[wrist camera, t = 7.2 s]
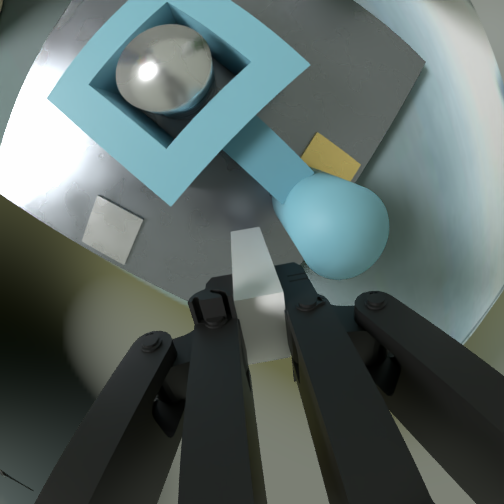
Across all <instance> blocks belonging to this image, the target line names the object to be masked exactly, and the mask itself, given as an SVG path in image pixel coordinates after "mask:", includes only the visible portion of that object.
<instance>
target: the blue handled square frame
mask: <svg viewBox="0 0 504 504" xmlns="http://www.w3.org/2000/svg"><path fill="white" fill-rule="evenodd" d="M165 24H178V25H183V26H186V27H189V28H191V29H193V30H195V31H196V32H198V33H199V34H200V35H201V36H202V37H203V38H204V39H205V40H206V42H207V44H208V46H209V49H210V52H211V56H212V57H213V58H215V59H216V60H217V61H218V62H220V63H221V64H222V65H223V66H225V67H226V68H227V69H228V70H230V71H231V72H232V73H233V74H234V75H236V76H235V77H234V78H233V79H232V80H231V81H230V82H229V83H228V84H227V85H226V86H225V87H224V88H223V89H222V90H221V91H220V92H219V93H218V94H217V95H216V96H215V97H214V98H213V99H212V100H211V101H210V102H209V103H208V104H207V105H206V106H205V107H204V108H203V109H202V110H201V111H200V112H199V113H198V114H197V115H196V116H195V117H194V118H193V119H192V120H191V122H190V123H189V124H188V125H187V126H186V127H185V128H184V129H183V130H182V132H181V133H180V134H179V135H178V136H177V137H176V138H175V139H174V138H173V137H172V136H170V135H169V134H168V133H167V132H166V131H165V130H163V129H162V128H161V127H160V126H159V125H157V124H156V123H155V122H154V121H152V120H151V119H150V118H149V117H148V116H146V115H145V114H144V113H143V112H142V111H140V110H139V109H138V108H137V107H135V106H133V105H132V104H130V103H129V102H128V101H126V99H125V98H124V97H123V96H122V95H121V93H120V91H119V89H118V86H117V83H116V67H117V63H118V60H119V58H120V55H121V54H122V52H123V50H124V49H125V47H126V46H127V45H128V44H129V43H130V42H131V41H132V40H133V39H134V38H135V37H136V36H138V35H139V34H140V33H142V32H144V31H146V30H148V29H150V28H153V27H156V26H159V25H165ZM309 66H310V64H309V63H308V62H307V61H306V60H305V59H304V58H303V57H302V56H301V55H300V54H299V53H297V52H296V51H295V50H294V49H293V48H292V47H291V46H290V45H288V44H287V43H286V42H285V41H284V40H283V39H281V38H280V37H279V36H278V35H277V34H275V33H274V32H273V31H272V30H270V29H269V28H268V27H267V26H265V25H264V24H263V23H262V22H260V21H259V20H258V19H256V18H255V17H254V16H252V15H251V14H250V13H248V12H247V11H245V10H244V9H243V8H241V7H240V6H238V5H237V4H235V3H234V2H232V1H231V0H128V1H127V2H126V3H125V4H124V5H123V6H122V7H121V8H119V9H118V10H117V11H116V12H115V13H114V14H113V15H112V16H111V17H110V18H109V19H108V20H107V21H106V23H105V24H104V25H103V26H102V27H101V28H100V29H99V30H98V31H97V32H96V33H95V34H94V36H93V37H92V38H91V39H90V40H89V41H88V42H87V44H86V45H85V46H84V47H83V48H82V50H81V51H80V52H79V53H78V55H77V56H76V57H75V58H74V60H73V61H72V62H71V64H70V65H69V66H68V68H67V69H66V70H65V72H64V73H63V75H62V76H61V77H60V79H59V80H58V82H57V83H56V85H55V86H54V88H53V89H52V91H51V92H50V94H49V95H48V97H47V98H46V99H47V100H48V101H50V102H51V103H52V104H53V105H54V106H55V107H56V108H57V109H59V110H60V111H61V112H62V113H63V114H64V115H65V116H66V117H67V118H69V119H70V120H71V121H72V122H73V123H74V124H75V125H76V126H78V127H79V128H80V129H81V130H82V131H83V132H84V133H86V134H87V135H88V136H89V137H90V138H91V139H92V140H94V141H95V142H96V143H97V144H98V145H99V146H100V147H102V148H103V149H104V150H105V151H106V152H107V153H108V154H110V155H111V156H112V157H113V158H114V159H115V160H117V161H118V162H119V163H120V164H121V165H122V166H124V167H125V168H126V169H127V170H128V171H129V172H131V173H132V174H133V175H134V176H135V177H136V178H138V179H139V180H140V181H141V182H142V183H143V184H145V185H146V186H147V187H148V188H149V189H150V190H152V191H153V192H154V193H155V194H156V195H158V196H159V197H160V198H161V199H162V200H163V201H165V202H166V203H167V204H168V205H169V206H172V205H173V204H174V203H175V201H176V200H177V199H178V198H179V197H180V196H181V194H182V193H183V192H184V191H185V190H186V189H187V187H188V186H189V185H190V184H191V183H192V182H193V181H194V179H195V178H196V177H197V176H198V175H199V174H200V173H201V171H202V170H203V169H204V168H205V167H206V166H207V165H208V164H209V163H210V162H211V160H212V159H213V158H214V157H215V156H216V155H217V154H218V153H219V152H220V151H221V150H223V151H224V152H225V153H227V154H228V155H229V156H230V157H231V158H232V159H233V160H234V161H236V162H237V163H238V164H239V165H240V166H241V167H242V168H243V169H244V170H245V171H247V172H248V173H249V174H250V175H251V176H252V177H253V178H254V179H255V180H256V181H257V182H258V183H260V184H261V185H262V186H263V187H264V188H265V189H266V190H267V191H268V192H269V193H270V194H271V195H272V204H273V209H274V211H275V213H276V215H277V217H278V219H279V220H280V222H281V223H282V225H283V226H284V228H285V230H286V231H287V233H288V234H289V236H290V238H291V239H292V241H293V242H294V244H295V246H296V247H297V249H298V251H299V252H300V254H301V255H302V257H303V259H304V260H305V262H306V263H307V265H308V266H309V267H310V268H311V269H312V270H313V271H314V272H315V273H317V274H319V275H320V276H323V277H325V278H329V279H335V280H342V279H348V278H352V277H355V276H357V275H359V274H361V273H363V272H364V271H366V270H367V269H369V268H370V267H371V266H372V265H373V264H374V263H375V262H376V261H377V260H378V258H379V257H380V255H381V254H382V252H383V250H384V248H385V246H386V243H387V240H388V235H389V218H388V213H387V210H386V208H385V206H384V204H383V202H382V201H381V199H380V198H379V197H378V196H377V195H376V194H375V193H373V192H372V191H370V190H369V189H367V188H365V187H362V186H360V185H357V184H355V183H352V182H350V181H347V180H345V179H342V178H340V177H337V176H334V175H332V174H329V173H326V172H324V171H321V170H318V169H315V168H312V167H309V166H308V165H307V164H306V163H305V162H304V161H303V160H302V159H301V158H300V157H299V156H298V155H297V154H296V153H295V152H294V151H293V150H292V149H291V148H290V147H289V146H288V145H287V144H286V143H285V142H284V141H283V140H282V139H281V138H280V137H279V136H278V135H277V134H276V133H275V132H274V131H273V130H272V129H271V128H270V127H268V126H267V125H266V124H265V123H264V122H263V121H262V120H261V119H260V118H259V117H258V116H257V115H256V114H257V113H258V112H259V111H260V110H261V109H262V108H263V107H264V106H265V105H267V104H268V103H269V102H270V101H271V100H272V99H273V98H274V97H275V96H276V95H277V94H278V93H279V92H280V91H282V90H283V89H284V88H285V87H286V86H287V85H288V84H289V83H290V82H292V81H293V80H294V79H295V78H296V77H297V76H298V75H300V74H301V73H302V72H303V71H304V70H305V69H307V68H308V67H309Z"/></svg>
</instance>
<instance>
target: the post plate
mask: <svg viewBox="0 0 504 504" xmlns="http://www.w3.org/2000/svg"><path fill="white" fill-rule="evenodd" d="M127 1H128V0H72V1H71V3H70V4H69V5H68V7H67V8H66V10H65V11H64V13H63V14H62V16H61V17H60V18H59V20H58V22H57V23H56V25H55V26H54V28H53V29H52V31H51V33H50V34H49V36H48V38H47V39H46V41H45V43H44V44H43V46H42V48H41V50H40V52H39V54H38V55H37V57H36V59H35V61H34V63H33V65H32V67H31V69H30V71H29V73H28V75H27V78H26V80H25V82H24V84H23V86H22V89H21V91H20V93H19V96H18V98H17V101H16V103H15V106H14V109H13V111H12V114H11V117H10V120H9V123H8V126H7V129H6V132H5V135H4V138H3V142H2V145H1V149H0V194H2V195H3V196H5V197H6V198H7V199H9V200H10V201H12V202H13V203H15V204H16V205H18V206H19V207H20V208H22V209H23V210H25V211H27V212H28V213H30V214H31V215H33V216H34V217H36V218H37V219H39V220H40V221H42V222H44V223H45V224H47V225H48V226H50V227H52V228H53V229H55V230H57V231H58V232H60V233H61V234H63V235H65V236H66V237H68V238H70V239H71V240H73V241H75V242H76V243H78V244H80V245H81V246H83V247H85V248H87V249H88V250H90V251H92V252H94V253H95V254H97V255H99V256H101V257H103V258H104V259H106V260H108V261H110V262H112V263H113V264H115V265H117V266H119V267H121V268H123V269H125V270H127V271H128V272H130V273H132V274H134V275H136V276H138V277H140V278H142V279H144V280H146V281H148V282H150V283H152V284H154V285H156V286H158V287H160V288H162V289H164V290H166V291H168V292H170V293H172V294H174V295H176V296H178V297H180V298H182V299H184V300H186V301H189V299H190V297H192V296H193V295H194V294H195V293H197V292H199V291H201V290H204V289H205V287H206V283H207V282H208V281H209V280H210V279H211V277H217V276H223V275H229V274H232V255H231V232H232V231H237V230H243V229H249V228H255V227H260V230H261V232H262V235H263V238H264V240H265V243H266V246H267V248H268V251H269V254H270V257H271V259H272V262H273V265H274V266H275V265H280V264H286V263H291V262H295V263H297V264H299V265H300V264H301V263H302V262H303V260H304V259H303V257H302V255H301V254H300V252H299V251H298V249H297V247H296V246H295V244H294V242H293V241H292V239H291V238H290V236H289V234H288V233H287V231H286V230H285V228H284V226H283V225H282V223H281V222H280V220H279V219H278V217H277V215H276V213H275V211H274V209H273V204H272V195H271V194H270V193H269V192H268V191H267V190H266V189H265V188H264V187H263V186H262V185H261V184H260V183H258V182H257V181H256V180H255V179H254V178H253V177H252V176H251V175H250V174H249V173H248V172H247V171H245V170H244V169H243V168H242V167H241V166H240V165H239V164H238V163H237V162H236V161H234V160H233V159H232V158H231V157H230V156H229V155H228V154H227V153H225V152H224V151H223V150H221V151H220V152H219V153H218V154H217V155H216V156H215V157H214V158H213V159H212V160H211V162H210V163H209V164H208V165H207V166H206V167H205V168H204V169H203V170H202V171H201V173H200V174H199V175H198V176H197V177H196V178H195V179H194V181H193V182H192V183H191V184H190V185H189V186H188V187H187V189H186V190H185V191H184V192H183V193H182V194H181V196H180V197H179V198H178V199H177V200H176V201H175V203H174V204H173V205H172V206H169V205H168V204H167V203H166V202H165V201H163V200H162V199H161V198H160V197H159V196H158V195H156V194H155V193H154V192H153V191H152V190H150V189H149V188H148V187H147V186H146V185H145V184H143V183H142V182H141V181H140V180H139V179H138V178H136V177H135V176H134V175H133V174H132V173H131V172H129V171H128V170H127V169H126V168H125V167H124V166H122V165H121V164H120V163H119V162H118V161H117V160H115V159H114V158H113V157H112V156H111V155H110V154H108V153H107V152H106V151H105V150H104V149H103V148H102V147H100V146H99V145H98V144H97V143H96V142H95V141H94V140H92V139H91V138H90V137H89V136H88V135H87V134H86V133H84V132H83V131H82V130H81V129H80V128H79V127H78V126H76V125H75V124H74V123H73V122H72V121H71V120H70V119H69V118H67V117H66V116H65V115H64V114H63V113H62V112H61V111H60V110H59V109H57V108H56V107H55V106H54V105H53V104H52V103H51V102H50V101H48V100H47V99H46V98H47V97H48V95H49V94H50V92H51V91H52V89H53V88H54V86H55V85H56V83H57V82H58V80H59V79H60V77H61V76H62V75H63V73H64V72H65V70H66V69H67V68H68V66H69V65H70V64H71V62H72V61H73V60H74V58H75V57H76V56H77V55H78V53H79V52H80V51H81V50H82V48H83V47H84V46H85V45H86V44H87V42H88V41H89V40H90V39H91V38H92V37H93V36H94V34H95V33H96V32H97V31H98V30H99V29H100V28H101V27H102V26H103V25H104V24H105V23H106V21H107V20H108V19H109V18H110V17H111V16H112V15H113V14H114V13H115V12H116V11H117V10H118V9H119V8H121V7H122V6H123V5H124V4H125V3H126V2H127ZM231 1H232V2H234V3H235V4H237V5H238V6H240V7H241V8H243V9H244V10H245V11H247V12H248V13H250V14H251V15H252V16H254V17H255V18H256V19H258V20H259V21H260V22H262V23H263V24H264V25H265V26H267V27H268V28H269V29H270V30H272V31H273V32H274V33H275V34H277V35H278V36H279V37H280V38H281V39H283V40H284V41H285V42H286V43H287V44H288V45H290V46H291V47H292V48H293V49H294V50H295V51H296V52H297V53H299V54H300V55H301V56H302V57H303V58H304V59H305V60H306V61H307V62H308V63H309V64H310V66H309V67H308V68H307V69H305V70H304V71H303V72H302V73H301V74H300V75H298V76H297V77H296V78H295V79H294V80H293V81H292V82H290V83H289V84H288V85H287V86H286V87H285V88H284V89H283V90H282V91H280V92H279V93H278V94H277V95H276V96H275V97H274V98H273V99H272V100H271V101H270V102H269V103H268V104H267V105H265V106H264V107H263V108H262V109H261V110H260V111H259V112H258V113H257V114H256V115H257V116H258V117H259V118H260V119H261V120H262V121H263V122H264V123H265V124H266V125H267V126H268V127H270V128H271V129H272V130H273V131H274V132H275V133H276V134H277V135H278V136H279V137H280V138H281V139H282V140H283V141H284V142H285V143H286V144H287V145H288V146H289V147H290V148H291V149H292V150H293V151H294V152H295V153H296V154H297V155H298V156H299V157H300V158H301V159H302V160H303V161H304V162H305V163H306V164H307V165H308V166H309V167H312V168H315V169H318V170H321V171H324V172H326V173H329V174H332V175H334V176H337V177H340V178H342V179H345V180H347V181H350V182H352V183H355V182H356V181H357V179H358V178H359V176H360V174H361V173H362V171H363V170H364V168H365V166H366V165H367V163H368V162H369V160H370V158H371V157H372V155H373V154H374V152H375V150H376V149H377V147H378V145H379V144H380V142H381V140H382V139H383V137H384V135H385V134H386V132H387V130H388V129H389V127H390V125H391V124H392V122H393V120H394V118H395V117H396V115H397V113H398V112H399V110H400V108H401V106H402V105H403V103H404V101H405V99H406V98H407V96H408V94H409V92H410V90H411V89H412V87H413V85H414V83H415V81H416V79H417V78H418V76H419V74H420V72H421V70H422V68H423V66H424V65H425V63H426V62H425V61H424V60H423V59H422V58H421V57H420V56H419V55H418V54H417V53H416V52H415V51H414V50H413V49H412V48H411V47H410V46H409V45H408V44H407V43H406V42H405V41H403V40H402V39H401V38H400V37H399V36H398V35H397V34H396V33H394V32H393V31H392V30H391V29H390V28H389V27H387V26H386V25H385V24H384V23H383V22H381V21H380V20H379V19H378V18H376V17H375V16H374V15H372V14H371V13H370V12H368V11H367V10H366V9H364V8H363V7H362V6H360V5H359V4H357V3H356V2H355V1H353V0H231ZM235 76H236V75H234V74H233V73H232V72H231V71H230V70H228V69H227V68H226V67H225V66H223V65H222V64H221V63H220V62H218V61H217V60H216V59H215V58H213V57H212V56H211V52H210V49H209V46H208V44H207V42H206V40H205V39H204V38H203V37H202V36H201V35H200V34H199V33H198V32H196V31H195V30H193V29H191V28H189V27H186V26H183V25H178V24H165V25H159V26H156V27H153V28H150V29H148V30H146V31H144V32H142V33H140V34H139V35H138V36H136V37H135V38H134V39H133V40H132V41H131V42H130V43H129V44H128V45H127V46H126V47H125V49H124V50H123V52H122V54H121V55H120V58H119V60H118V63H117V67H116V83H117V86H118V89H119V91H120V93H121V95H122V96H123V97H124V98H125V99H126V101H128V102H129V103H130V104H132V105H133V106H135V107H137V108H138V109H139V110H140V111H142V112H143V113H144V114H145V115H146V116H148V117H149V118H150V119H151V120H152V121H154V122H155V123H156V124H157V125H159V126H160V127H161V128H162V129H163V130H165V131H166V132H167V133H168V134H169V135H170V136H172V137H173V138H174V139H175V138H176V137H177V136H178V135H179V134H180V133H181V132H182V130H183V129H184V128H185V127H186V126H187V125H188V124H189V123H190V122H191V120H192V119H193V118H194V117H195V116H196V115H197V114H198V113H199V112H200V111H201V110H202V109H203V108H204V107H205V106H206V105H207V104H208V103H209V102H210V101H211V100H212V99H213V98H214V97H215V96H216V95H217V94H218V93H219V92H220V91H221V90H222V89H223V88H224V87H225V86H226V85H227V84H228V83H229V82H230V81H231V80H232V79H233V78H234V77H235Z"/></svg>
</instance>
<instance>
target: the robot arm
mask: <svg viewBox="0 0 504 504" xmlns="http://www.w3.org/2000/svg"><path fill="white" fill-rule="evenodd" d="M231 255H232V274H229V275H223V276H217V277H211V279H210V280H209V281H208V282H207V283H206V287H205V289H204V290H201V291H199V292H197V293H195V294H194V295H193V296H192V297H190V299H189V301H188V305H189V308H190V311H191V315H192V318H193V321H194V324H195V326H194V330H193V331H192V332H190V333H188V334H186V335H184V336H181V337H178V338H175V339H172V338H171V336H170V335H169V334H168V333H167V332H163V331H152V332H149V333H146V334H144V335H143V336H141V337H139V338H138V339H137V340H136V341H135V342H134V343H133V345H132V346H131V348H130V349H129V351H128V352H127V354H126V355H125V356H124V358H123V359H122V361H121V362H120V364H119V365H118V367H117V368H116V370H115V371H114V373H113V374H112V376H111V377H110V379H109V380H108V382H107V383H106V385H105V386H104V388H103V389H102V391H101V392H100V394H99V396H98V397H97V399H96V400H95V402H94V403H93V405H92V406H91V408H90V409H89V411H88V413H87V414H86V416H85V417H84V419H83V421H82V422H81V424H80V425H79V427H78V429H77V430H76V432H75V434H74V435H73V437H72V439H71V440H70V442H69V444H68V445H67V447H66V448H65V450H64V452H63V454H62V455H61V457H60V459H59V461H58V462H57V464H56V466H55V467H54V469H53V471H52V473H51V474H50V476H49V478H48V480H47V482H46V483H45V485H44V487H43V489H42V491H41V492H40V494H39V496H38V498H37V500H36V502H35V504H157V502H158V500H159V497H160V494H161V492H162V489H163V486H164V483H165V481H166V478H167V476H168V473H169V470H170V468H171V465H172V462H173V459H174V457H175V454H176V451H177V449H178V446H179V443H180V441H181V438H182V446H181V461H180V477H179V497H178V504H267V498H266V491H265V484H264V476H263V469H262V462H261V455H260V447H259V439H258V431H257V423H256V415H255V408H254V399H253V391H252V382H251V375H250V371H249V367H248V364H255V363H260V362H267V361H272V360H277V359H283V358H288V357H290V353H291V356H292V364H293V376H294V381H297V385H298V388H299V392H300V396H301V399H302V403H303V406H304V410H305V414H306V418H307V421H308V425H309V429H310V432H311V436H312V440H313V443H314V447H315V451H316V455H317V458H318V462H319V465H320V469H321V473H322V477H323V481H324V485H325V488H326V492H327V496H328V500H329V503H330V504H435V503H434V502H433V500H432V499H431V497H430V495H429V493H428V490H427V488H426V486H425V483H424V481H423V479H422V477H421V475H420V473H419V470H418V468H417V466H416V464H415V462H414V460H413V458H412V455H411V453H410V451H409V449H408V448H407V445H406V443H405V441H404V439H403V437H402V435H401V433H400V431H399V429H398V427H397V425H396V423H395V421H394V419H393V417H392V415H391V413H390V411H391V412H392V414H393V415H394V416H395V417H396V418H397V419H398V420H399V421H400V422H401V423H402V424H403V426H404V427H405V428H406V429H407V430H408V431H409V432H410V433H411V434H412V435H413V436H414V437H415V439H416V440H417V441H418V442H419V443H420V444H421V445H422V446H423V447H424V448H425V449H426V450H427V451H428V452H429V454H430V455H431V456H432V457H433V458H434V459H435V460H436V461H437V462H438V463H439V464H440V465H441V466H442V468H444V470H445V471H446V472H447V473H448V474H449V475H450V476H451V477H452V478H453V479H454V480H455V481H456V483H457V484H458V485H459V486H460V487H461V488H462V489H463V490H464V491H465V492H466V493H467V494H468V495H469V496H470V497H471V498H472V500H473V501H474V502H475V503H476V504H504V376H503V375H502V374H500V373H499V372H498V371H497V370H495V369H494V368H492V367H491V366H490V365H489V364H487V363H486V362H485V361H483V360H482V359H481V358H479V357H478V356H477V355H475V354H474V353H472V352H471V351H470V350H468V349H467V348H466V347H464V346H463V345H462V344H460V343H459V342H458V341H456V340H455V339H453V338H452V337H451V336H449V335H448V334H446V333H445V332H444V331H442V330H441V329H439V328H438V327H436V326H435V325H434V324H432V323H431V322H429V321H428V320H426V319H425V318H424V317H422V316H421V315H419V314H418V313H416V312H415V311H413V310H412V309H410V308H409V307H408V306H406V305H405V304H403V303H402V302H400V301H399V300H397V299H396V298H394V297H393V296H391V295H389V294H387V293H385V292H380V291H369V292H366V293H362V294H361V295H359V296H358V297H357V298H356V300H355V306H335V305H331V304H330V302H329V301H328V300H327V299H326V298H325V297H324V296H322V295H319V294H317V292H316V291H315V289H314V287H313V285H312V283H311V282H310V280H309V279H308V276H307V275H306V274H305V271H304V269H303V268H302V266H300V265H299V264H297V263H295V262H291V263H286V264H280V265H275V266H274V265H273V262H272V259H271V257H270V254H269V251H268V248H267V246H266V243H265V240H264V238H263V235H262V232H261V230H260V227H255V228H249V229H243V230H237V231H232V232H231ZM389 410H390V411H389Z"/></svg>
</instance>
